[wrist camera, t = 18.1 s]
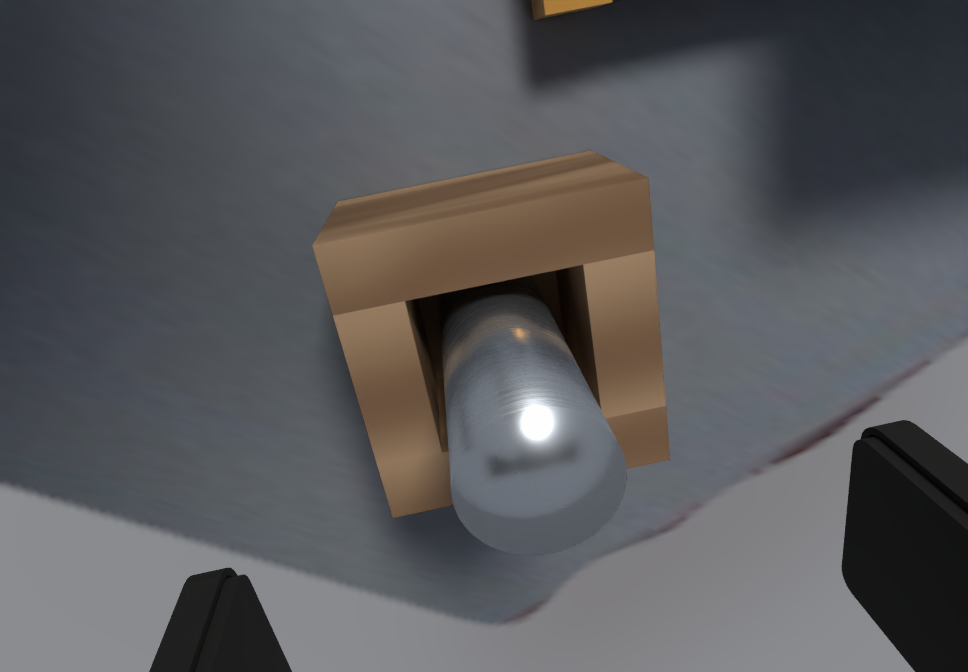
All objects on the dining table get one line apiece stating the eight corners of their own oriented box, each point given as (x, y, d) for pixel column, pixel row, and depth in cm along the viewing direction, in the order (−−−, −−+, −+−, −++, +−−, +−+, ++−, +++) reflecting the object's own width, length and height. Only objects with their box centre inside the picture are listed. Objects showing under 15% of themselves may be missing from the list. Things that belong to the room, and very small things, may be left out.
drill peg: (429, 263, 22) (436, 425, 12) (531, 245, 22) (620, 392, 12) (448, 355, 24) (467, 568, 14) (543, 338, 24) (632, 538, 14)
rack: (337, 201, 22) (312, 245, 17) (591, 150, 22) (648, 177, 17) (397, 421, 26) (392, 517, 20) (616, 376, 26) (670, 459, 20)
